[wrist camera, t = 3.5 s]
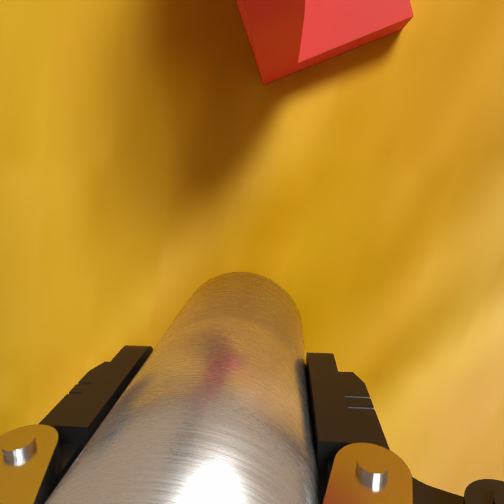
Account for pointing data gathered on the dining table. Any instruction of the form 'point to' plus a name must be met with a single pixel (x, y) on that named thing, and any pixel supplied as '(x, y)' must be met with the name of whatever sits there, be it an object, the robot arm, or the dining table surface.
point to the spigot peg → (210, 410)
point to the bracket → (315, 30)
